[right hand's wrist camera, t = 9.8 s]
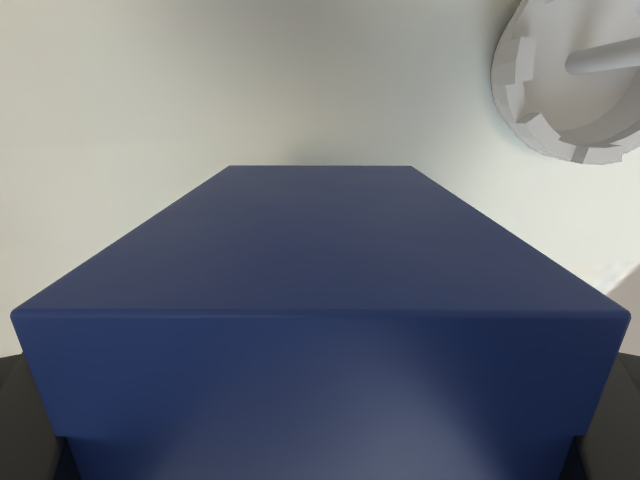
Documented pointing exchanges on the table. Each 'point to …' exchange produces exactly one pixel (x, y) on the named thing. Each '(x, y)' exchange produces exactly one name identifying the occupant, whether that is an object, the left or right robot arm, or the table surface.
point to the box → (320, 338)
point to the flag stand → (571, 78)
